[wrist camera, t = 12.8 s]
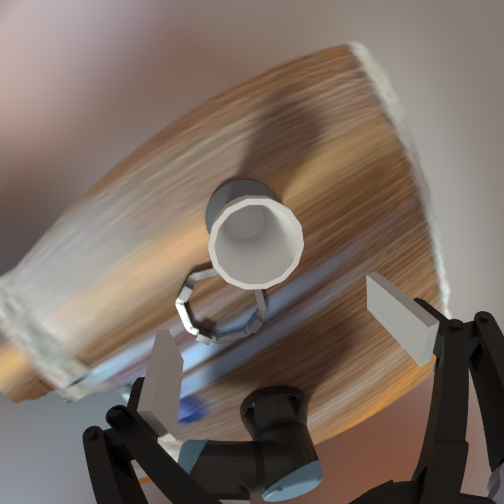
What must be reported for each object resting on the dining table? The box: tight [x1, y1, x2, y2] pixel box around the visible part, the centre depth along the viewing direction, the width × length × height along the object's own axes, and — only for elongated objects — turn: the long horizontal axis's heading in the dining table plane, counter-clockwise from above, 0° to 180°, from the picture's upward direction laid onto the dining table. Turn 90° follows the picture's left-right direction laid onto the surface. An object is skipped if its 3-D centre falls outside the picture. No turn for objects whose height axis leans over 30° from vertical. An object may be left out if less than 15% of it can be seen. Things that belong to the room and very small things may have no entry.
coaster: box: [205, 179, 279, 235], centre depth 39 cm, size 11×11×1 cm
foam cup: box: [208, 195, 304, 290], centre depth 32 cm, size 10×9×13 cm
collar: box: [176, 266, 267, 345], centre depth 42 cm, size 14×14×2 cm
